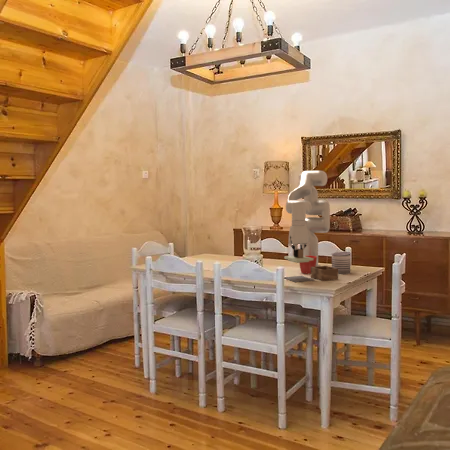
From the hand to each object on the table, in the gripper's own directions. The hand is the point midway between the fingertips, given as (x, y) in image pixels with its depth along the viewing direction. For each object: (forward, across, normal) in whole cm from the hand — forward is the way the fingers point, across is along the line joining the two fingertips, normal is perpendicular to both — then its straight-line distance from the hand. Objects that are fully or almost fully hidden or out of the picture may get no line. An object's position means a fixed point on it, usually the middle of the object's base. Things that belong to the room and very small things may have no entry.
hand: (298, 256), depth 287 cm
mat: (+13, 0, 0) cm, 13 cm away
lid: (+2, 0, 0) cm, 2 cm away
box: (+13, -14, +4) cm, 19 cm away
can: (+13, -33, -8) cm, 37 cm away
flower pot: (+13, -15, -16) cm, 26 cm away
